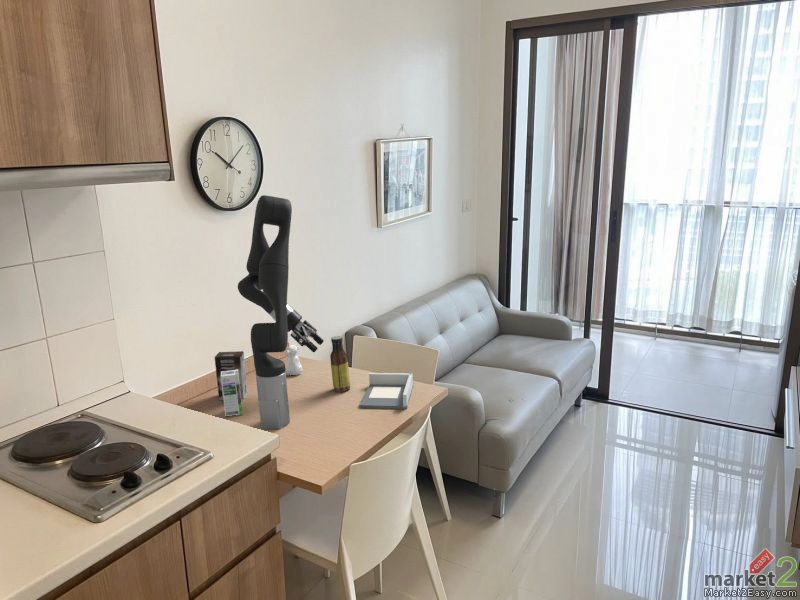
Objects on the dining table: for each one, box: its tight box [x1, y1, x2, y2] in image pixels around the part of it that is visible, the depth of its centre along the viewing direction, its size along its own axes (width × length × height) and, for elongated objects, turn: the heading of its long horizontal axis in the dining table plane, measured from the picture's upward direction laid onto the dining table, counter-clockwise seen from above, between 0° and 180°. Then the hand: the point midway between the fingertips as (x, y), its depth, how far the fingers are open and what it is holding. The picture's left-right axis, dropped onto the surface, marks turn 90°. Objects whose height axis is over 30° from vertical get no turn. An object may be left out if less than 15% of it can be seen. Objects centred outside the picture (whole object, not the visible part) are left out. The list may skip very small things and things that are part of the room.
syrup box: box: [221, 369, 244, 417], centre depth 198 cm, size 6×6×14 cm
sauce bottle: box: [329, 335, 351, 393], centre depth 214 cm, size 6×6×20 cm
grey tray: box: [359, 372, 414, 410], centre depth 208 cm, size 20×16×5 cm
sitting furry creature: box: [285, 344, 303, 376], centre depth 234 cm, size 10×9×12 cm
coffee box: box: [214, 350, 248, 401], centre depth 212 cm, size 9×6×16 cm
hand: (319, 346), depth 214 cm, fingers open, 8 cm apart
